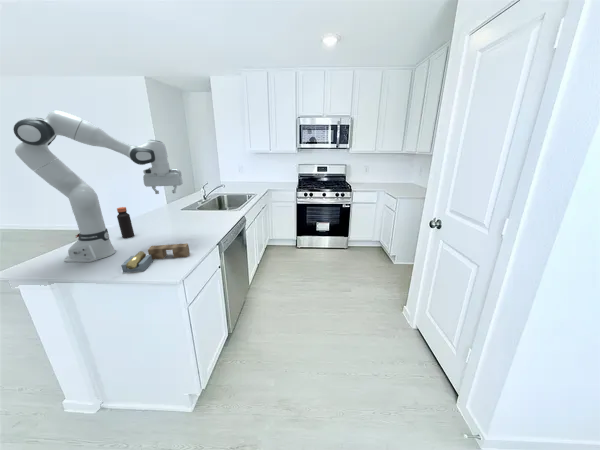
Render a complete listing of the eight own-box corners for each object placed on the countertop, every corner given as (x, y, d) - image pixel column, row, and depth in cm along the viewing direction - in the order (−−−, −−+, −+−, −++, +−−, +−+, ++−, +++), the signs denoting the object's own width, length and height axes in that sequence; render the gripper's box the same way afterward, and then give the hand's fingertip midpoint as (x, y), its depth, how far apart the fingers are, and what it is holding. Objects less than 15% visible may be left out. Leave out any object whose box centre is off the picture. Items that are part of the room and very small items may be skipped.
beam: (149, 259, 131) (147, 249, 129) (153, 255, 135) (151, 245, 134) (187, 256, 134) (185, 246, 132) (189, 253, 138) (187, 243, 137)
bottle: (119, 238, 162) (112, 208, 156) (129, 234, 168) (122, 206, 162) (127, 239, 160) (120, 209, 154) (136, 235, 166) (130, 207, 160)
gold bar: (136, 268, 117) (133, 261, 116) (127, 269, 117) (124, 262, 115) (147, 257, 128) (144, 250, 127) (139, 258, 128) (136, 252, 127)
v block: (144, 270, 119) (142, 263, 118) (123, 272, 118) (121, 265, 117) (152, 261, 129) (151, 254, 128) (132, 263, 127) (131, 256, 126)
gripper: (182, 168, 145) (185, 191, 149) (144, 169, 142) (149, 193, 146) (178, 169, 139) (182, 193, 143) (139, 170, 136) (145, 195, 140)
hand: (165, 193), depth 145 cm, fingers open, 8 cm apart
